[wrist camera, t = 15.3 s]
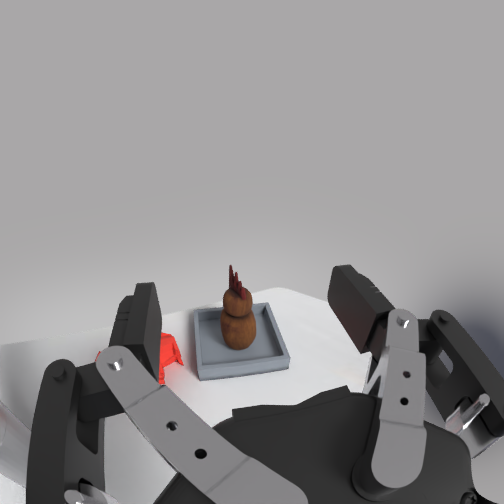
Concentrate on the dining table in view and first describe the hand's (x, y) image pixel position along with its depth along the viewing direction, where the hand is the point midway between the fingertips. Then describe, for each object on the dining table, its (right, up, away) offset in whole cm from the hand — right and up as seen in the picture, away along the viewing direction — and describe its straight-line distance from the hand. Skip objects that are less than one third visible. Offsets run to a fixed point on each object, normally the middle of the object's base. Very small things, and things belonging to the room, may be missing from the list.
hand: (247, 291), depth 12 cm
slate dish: (-2, -15, +36) cm, 39 cm away
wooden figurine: (-2, -14, +35) cm, 38 cm away
